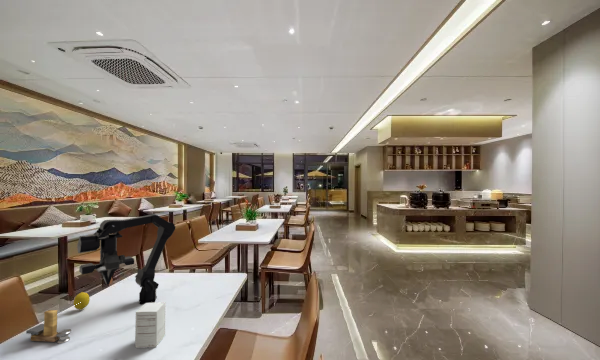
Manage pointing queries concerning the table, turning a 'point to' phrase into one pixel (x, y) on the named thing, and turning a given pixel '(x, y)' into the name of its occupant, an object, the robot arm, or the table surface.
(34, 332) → the block
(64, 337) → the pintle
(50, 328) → the link
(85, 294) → the lemon
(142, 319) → the supplement box
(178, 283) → the table surface
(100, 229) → the robot arm
